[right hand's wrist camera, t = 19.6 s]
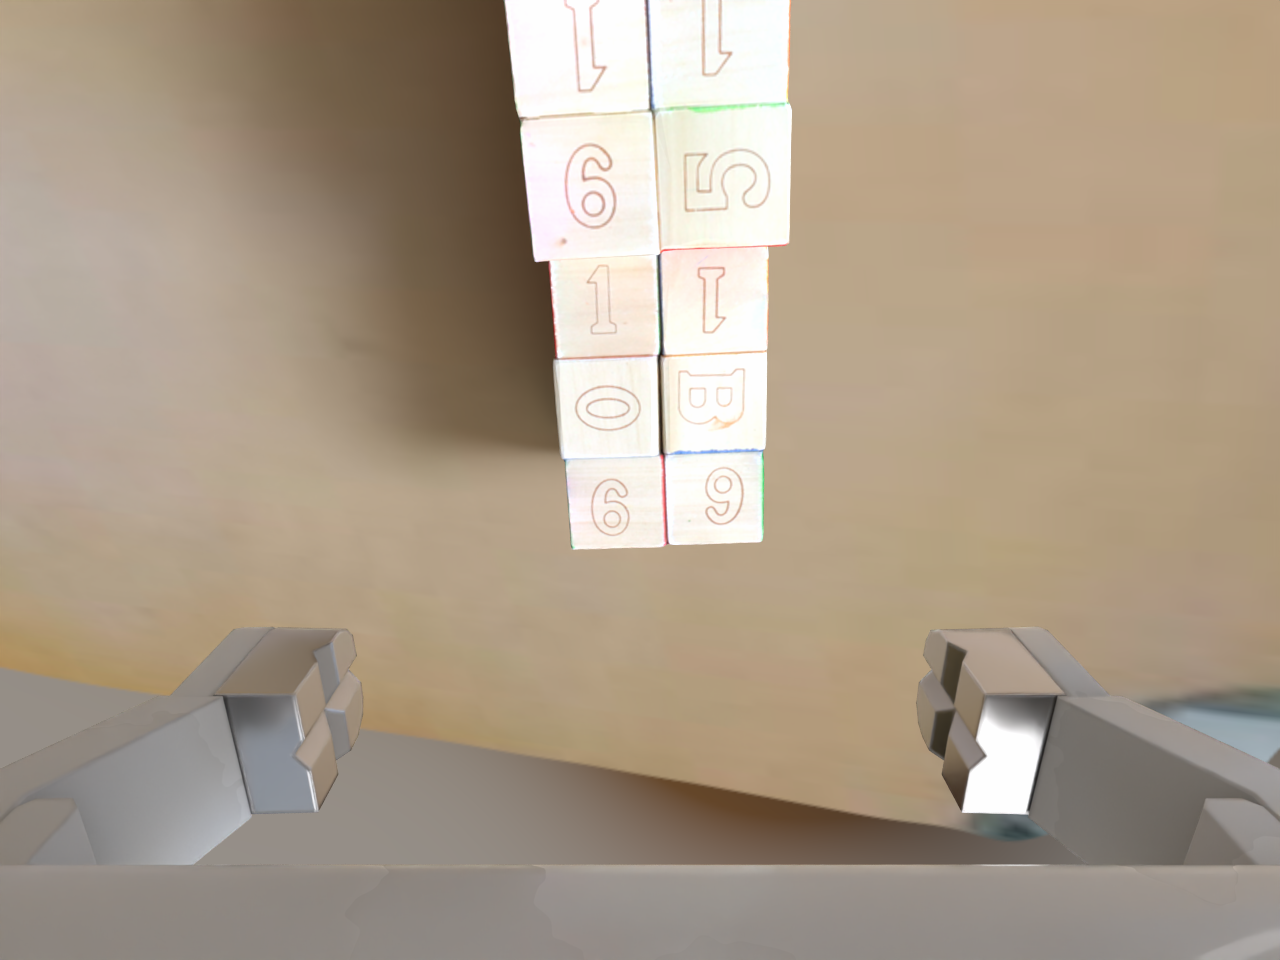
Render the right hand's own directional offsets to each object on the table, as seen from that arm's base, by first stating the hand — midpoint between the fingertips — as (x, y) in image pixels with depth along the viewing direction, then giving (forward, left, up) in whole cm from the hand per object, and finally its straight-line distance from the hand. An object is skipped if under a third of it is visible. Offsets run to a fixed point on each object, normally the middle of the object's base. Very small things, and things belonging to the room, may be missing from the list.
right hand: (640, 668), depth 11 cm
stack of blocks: (+4, -5, -21) cm, 22 cm away
